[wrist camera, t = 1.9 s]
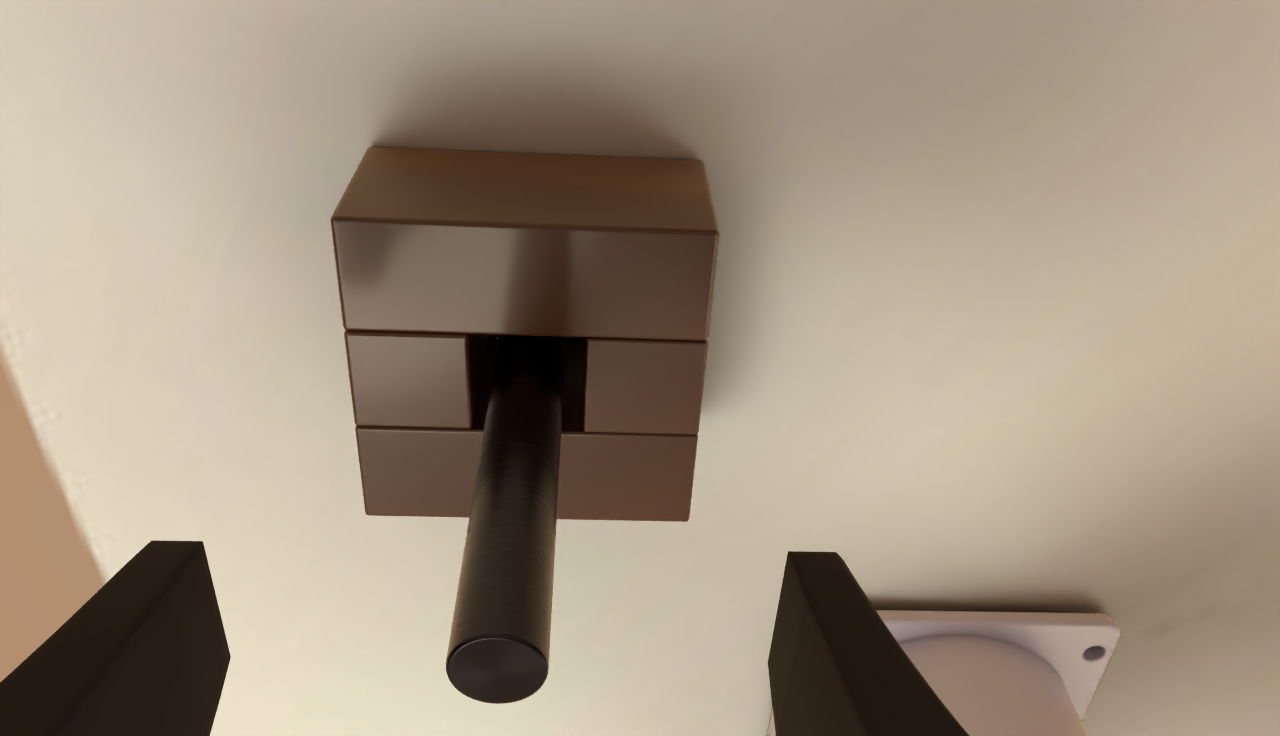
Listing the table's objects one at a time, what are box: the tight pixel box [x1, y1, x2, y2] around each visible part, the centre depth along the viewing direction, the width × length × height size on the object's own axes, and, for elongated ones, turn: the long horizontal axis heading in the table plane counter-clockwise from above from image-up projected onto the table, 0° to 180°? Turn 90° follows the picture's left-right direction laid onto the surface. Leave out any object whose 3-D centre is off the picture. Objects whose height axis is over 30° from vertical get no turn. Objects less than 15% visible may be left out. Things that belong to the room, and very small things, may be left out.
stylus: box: [446, 335, 566, 704], centre depth 16 cm, size 1×1×9 cm
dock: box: [331, 147, 719, 522], centre depth 18 cm, size 6×6×3 cm
